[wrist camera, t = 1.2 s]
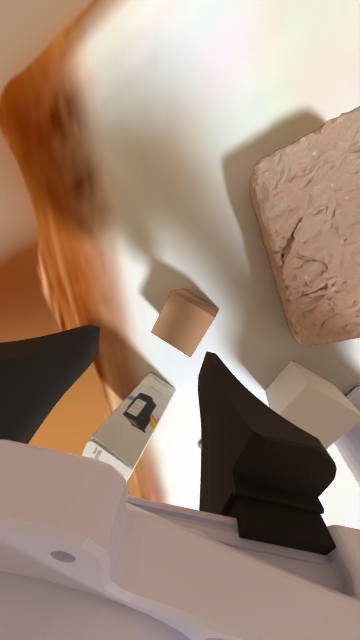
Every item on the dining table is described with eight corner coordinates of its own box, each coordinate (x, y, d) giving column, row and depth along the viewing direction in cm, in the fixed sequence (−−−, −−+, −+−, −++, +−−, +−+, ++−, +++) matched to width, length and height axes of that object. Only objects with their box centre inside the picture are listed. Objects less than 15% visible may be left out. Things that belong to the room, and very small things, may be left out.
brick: (244, 187, 18) (247, 158, 14) (343, 134, 15) (388, 74, 11) (287, 335, 20) (302, 352, 16) (382, 314, 17) (433, 326, 13)
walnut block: (219, 308, 21) (215, 317, 16) (199, 341, 23) (190, 357, 18) (184, 288, 22) (170, 291, 17) (167, 321, 24) (150, 332, 19)
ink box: (154, 426, 28) (104, 520, 17) (130, 409, 29) (67, 489, 18) (177, 388, 25) (134, 473, 14) (149, 370, 26) (88, 437, 15)
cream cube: (333, 384, 19) (365, 417, 15) (302, 413, 21) (322, 451, 16) (291, 359, 20) (308, 384, 15) (264, 389, 22) (273, 420, 17)
